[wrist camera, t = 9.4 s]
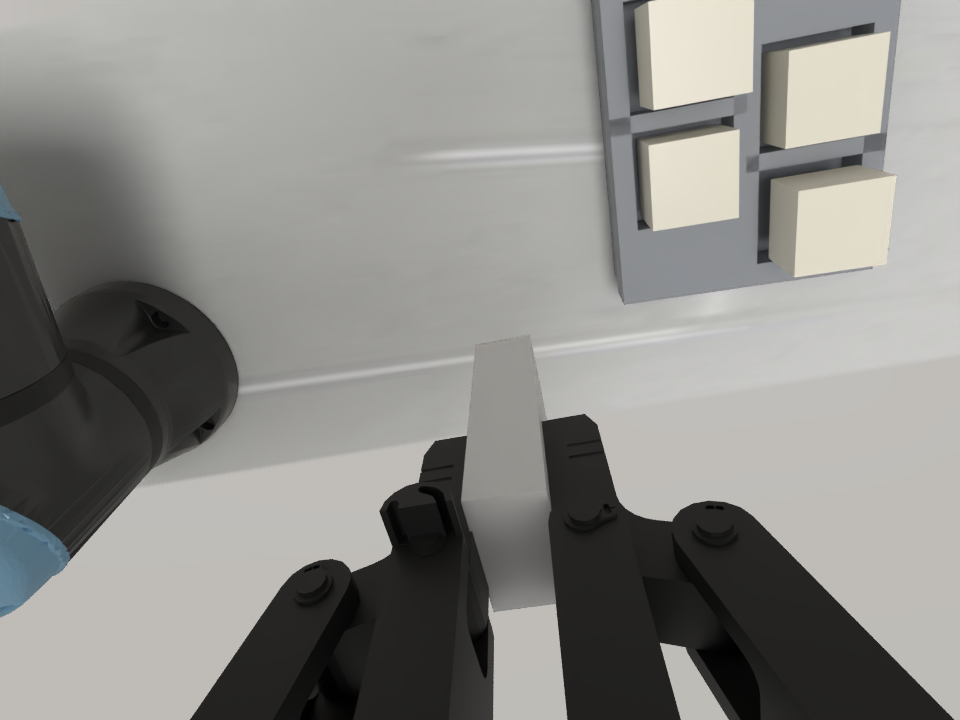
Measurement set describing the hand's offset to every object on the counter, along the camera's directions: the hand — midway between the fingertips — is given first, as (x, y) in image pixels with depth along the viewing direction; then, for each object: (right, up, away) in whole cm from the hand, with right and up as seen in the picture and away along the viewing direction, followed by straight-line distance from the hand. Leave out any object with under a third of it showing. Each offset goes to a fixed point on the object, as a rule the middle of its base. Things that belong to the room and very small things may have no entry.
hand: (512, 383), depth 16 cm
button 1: (+20, +10, +20) cm, 30 cm away
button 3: (+19, +17, +19) cm, 32 cm away
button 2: (+12, +13, +22) cm, 28 cm away
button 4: (+11, +18, +17) cm, 27 cm away
